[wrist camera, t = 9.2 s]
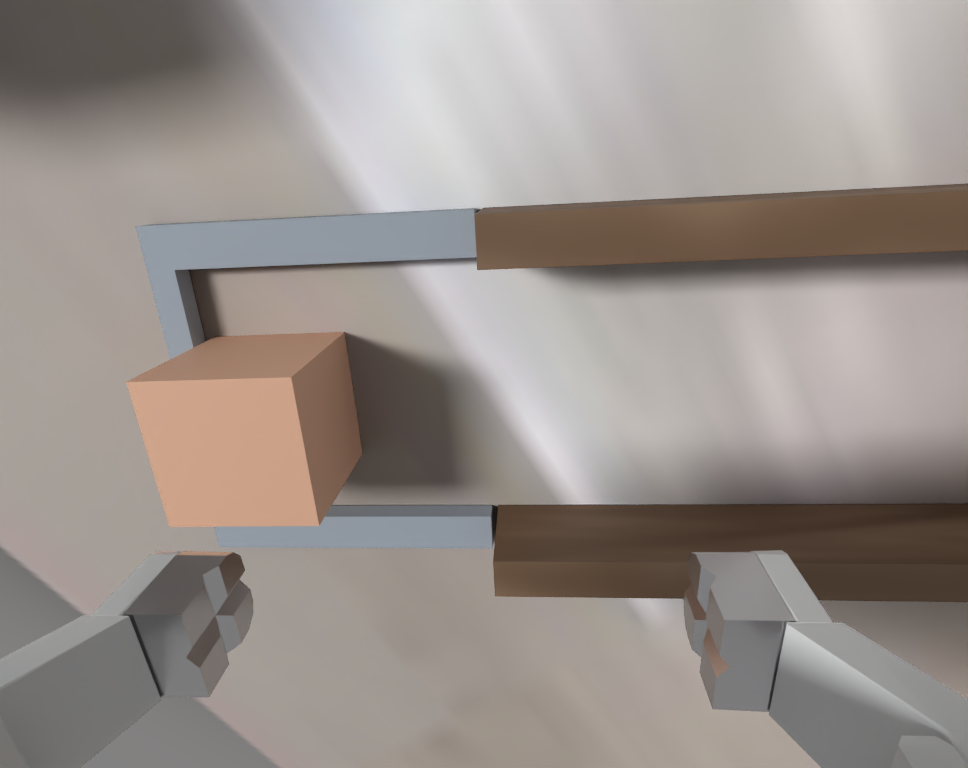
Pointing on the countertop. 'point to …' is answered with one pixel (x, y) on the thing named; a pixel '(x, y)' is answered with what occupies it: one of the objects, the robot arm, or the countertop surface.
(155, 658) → the robot arm
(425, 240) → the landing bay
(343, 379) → the terracotta block
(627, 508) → the walnut cubby
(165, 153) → the countertop surface
